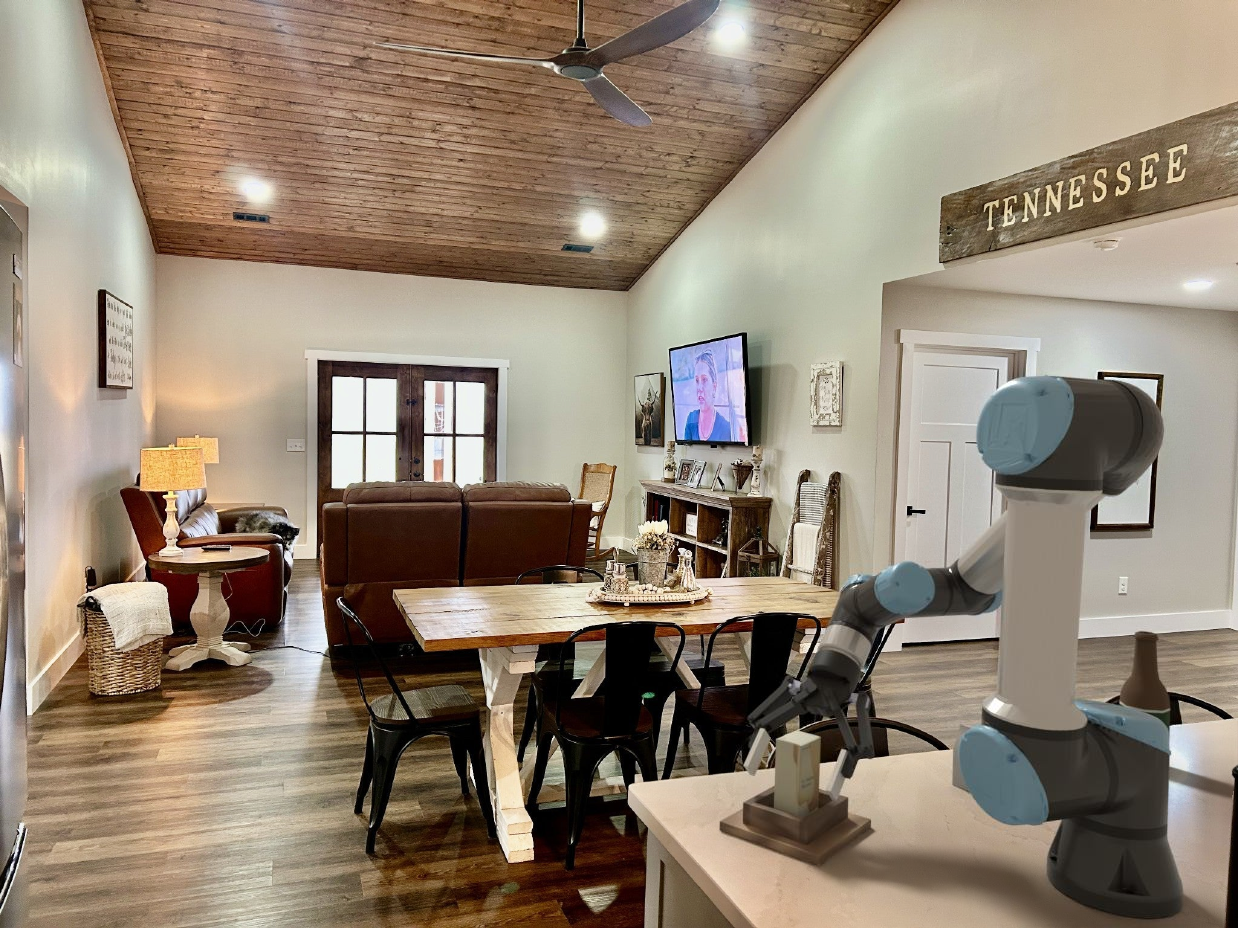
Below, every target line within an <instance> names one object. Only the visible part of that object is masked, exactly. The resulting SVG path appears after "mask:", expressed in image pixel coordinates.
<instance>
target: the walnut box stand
mask: <svg viewBox="0 0 1238 928" xmlns="http://www.w3.org/2000/svg"><path fill="white" fill-rule="evenodd" d="M774 787H775V785H773V786H771V787H769V788H768V789H766V790H764V791H762V792H760V793H758V794H757V795H754V796H753V797H751V798H749V799H747V800H745V801H743V802H742V808H741V809H740V810H738V811H736V812H734V813H732V814H730V815H728V816H726V817H724V818H723V819H721V820H720V821H719V830H721V831H723V832H726V833H729V834H731V835H734V836H737V837H740V838H741V839H746V840H748V841H750V842H754V843H757V845H758V844H760V845H762V846H763V847H767V848H770V849H772V850H775V851H778V852H781V853H783V854H787V855H789V856H791V857H795V858H797V859H800V860H803V861H805V862H808V863H811V864H815V865H817V866H820V865H821V864H823V863H824V862H826V861H827V860H829V859H830V858H831V857H833V856H834V855H835V854H837V853H838V852H839V851H840V850H842V849H843V848H845V847H846V846H847V845H849V844H851V842H853V841H854V840H856V839H857V838H858V837H860V836H861V835H863V834H864V833H865V832H867V831H868V830H869V829H871V828H872V818H868V817H864V816H861V815H858V814H855V813H852V812H849V796H844V795H841V794H839V797H838V799H837V801H835V800H832V799H831V797H830V796H829V794H828V793H827V791H826V789H823V788H819V805H818V810H816V811H815V812H813V813H812V814H810V815H809V816H807V817H805V818H801V817H798V816H795V815H792V814H789V813H786V812H782V811H779V810H776V809H774Z"/></svg>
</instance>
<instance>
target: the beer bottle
mask: <svg viewBox="0 0 1238 928" xmlns="http://www.w3.org/2000/svg"><path fill="white" fill-rule="evenodd" d="M1133 638H1134V639H1135V643H1134V644H1135V645H1134V654H1133V663H1132V665H1133V666H1132V670H1131V675H1130V676H1129V677H1128V678H1127V680H1125V682H1124V683H1123V686H1122V687H1121V689H1120V692H1119V693H1120V694H1119V704H1118V705H1119V706H1123V707H1127V708H1131V709H1135V710H1138V711H1141V712H1144V713H1147V714H1150V715H1152V716H1154V717H1156V718H1158V719H1160V720H1161V721H1162V722H1163V723H1164V724H1165V725H1166V727H1167V728H1168V731H1169V738H1170V737H1171V735H1170V734H1171V733H1170V729H1171V728H1170V727H1171V702H1170V695H1169V692H1168V690H1167V688H1166V687H1165V685H1164V684H1163V682H1162V681H1161V679H1160V675H1159V670H1158V669H1159V668H1158V652H1157V651H1158V649H1157V647H1158V646H1157V641H1159V636H1158V635H1157V633H1155V632H1152V631H1143V630H1139V631H1136V632H1134V634H1133Z"/></svg>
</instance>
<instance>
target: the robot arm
mask: <svg viewBox="0 0 1238 928" xmlns="http://www.w3.org/2000/svg"><path fill="white" fill-rule="evenodd" d="M1164 435H1165V427H1164V418H1163V415H1162V413H1161V411H1160V408H1159V407H1158V405H1157V404H1156V402H1155V401H1154V399H1153V398H1152V397H1151V396H1150V395H1149V393H1147V392H1145V391H1144V390H1142V389H1141V388H1139V387H1138V386H1136V385H1134V384H1131V383H1129V382H1126V381H1122V380H1116V379H1107V378H1106V379H1105V378H1104V379H1095V378H1094V379H1093V378H1081V377H1071V376H1057V375H1047V374H1044V375H1036V376H1035V375H1034V376H1021V377H1017V378H1014V379H1011V380H1009V381H1006V382H1004V383H1003V384H1002V385H1001V386H999V387H998V388H997V389H996V390H995V392H994V394H992V395H991V396H989V397H988V398H987V400H986V402H985V404H984V406H983V407H982V409H981V412H980V414H979V418H978V420H977V424H976V433H975V439H976V440H975V441H976V447H977V448H976V449H977V451H978V453H980V454H982V456H981V459H982V461H983V463H984V464H985V466H987V467H988V468H990V469H991V470H992V471H994V472H995V476H994V477H995V479H994V487H995V488H996V489H997V490H998V491H999V492H1000V494H1002V495H1003V496H1004V497H1005V500H1006V501H1007V503H1006V510H1005V511H1004V512H1003V513H1001V515H1000V516H999V517H998V518H997V519H996V520H995V521H994V522H993V523H992V524H991V525H990V526H989V527H988V528H987V529H986V530H985V531H984V532H983V533H982V534H981V535H980V536H979V538H977V539H976V540H975V541H974V542H973V544H972V545H970V546H969V547H968V548H967V549H966V550H965V552H963V554H962V555H960V557H958V559H956V560H955V561H954V562H953V563H952V564H951V565H950V566H947V567H929V568H926V567H924V566H923V565H921V564H918V563H916V562H914V561H909V560H906V561H905V560H904V561H900V562H897V563H896V564H892V565H889V566H887V567H886V568H884V569H883V570H882V571H880V572H879V573H878V574H876V575H872V574H868V573H863V574H859V573H856V574H854V575H852V576H850V577H849V578H848V579H847V581H846V583H845V585H844V587H843V588H842V590H841V591H840V593H839V597H838V600H837V603H836V605H835V607H834V610H833V611H832V614H831V617H830V618H829V619H830V620H829V622H828V624H827V626H826V628H825V631H824V633H823V634H822V635H823V636H822V638H821V639H820V641H819V644H818V646H817V649H816V650H817V651H816V652H815V653H814V656H813V658H812V661H811V663H810V665H809V666H808V667H809V668H808V671H807V675H806V677H805V679H804V680H802V681H799V680H796V679H794V678H793V676H792V675H789V674H788V675H786V676H785V677H784V679H783V680H782V682H781V685H780V686H778V688H777V689H776V690H774V691H773V693H771V694H770V695H769V696H768V697H767V698H765V700H764V701H763V702H762V703H761V704H759V705H758V706H757V707H756V708H755V709H754V710H753V711H752V712H751V713H749V714H748V716H747V721H748V722H749V724H750V725H751V727H752V728H753V729H754V731H753V733H752V735H751V737H750V739H749V742H748V746H747V747H748V748H749V752H748V754H747V757H746V759H745V761H744V763H743V765H742V766H743V767H744V768H745V770H746V771H747V773H748V774H749V776H752V777H755V775H756V774H757V771H758V769H759V766H760V765H761V761H762V760H763V757H764V755H765V753H766V750H767V749H768V746H769V744H770V741H771V740H772V739H771V737H770V735H769V734H771V733H772V732H774V731H775V730H777V729H778V728H780V727H782V726H784V725H786V724H787V723H789V722H790V721H792V720H794V719H795V718H797V717H798V716H800V715H802V716H803V715H806V714H807V713H810V714H813V715H821V716H823V717H824V718H830V717H833V716H834V718H835V720H836V724H837V725H838V728H839V730H840V733H841V735H842V737H843V740H844V742H845V745H846V748H847V749H848V750H847V749H844V748H841V749H840V752H839V755H838V757H837V761H836V763H835V765H834V767H833V770H832V773H831V776H830V778H829V782H828V784H827V786H826V789H825V791H827V793H828V794H829V796H830V797H831V799H832V800H835V801H837V799H838V797H839V795H841V794H840V793H841V791H842V789H843V786H844V783H845V780H846V779H849V780H851V779H852V777H853V776H854V774H855V773H854V772H855V769H856V767H857V765H858V762H859V760H861V759H864V758H866V759H868V760H873V759H874V758H875V750H874V749H875V748H874V742H873V734H872V727H871V721H870V720H871V719H870V714H869V712H870V710H871V705H872V701H871V698H870V697H869V695H868V693H867V692H866V691H865V690H860V691H859V692H858V693H854V692H855V690H856V687H857V686H858V683H859V680H860V677H861V675H862V670H863V669H864V667H865V665H866V661H867V659H868V657H869V654H870V652H871V649H872V647H873V644H874V641H875V639H876V637H877V634H878V633H879V631H880V629H883V628H884V627H887V626H890V625H891V624H893V623H896V622H898V621H900V620H903V619H916V618H933V617H935V618H936V617H948V616H949V617H950V616H951V617H952V616H953V617H955V616H980V615H983V614H990V613H993V612H995V611H997V610H998V609H999V608H1001V609H1000V622H999V625H1000V626H999V638H998V639H999V642H998V659H997V660H998V661H997V676H996V690H995V691H994V692H992V693H991V694H990V695H988V696H987V697H985V698H984V699H983V701H982V705H981V722H980V724H979V725H974V726H971V727H972V728H971V729H969V730H967V732H966V734H964V735H963V736H962V738H961V740H960V743H959V750H958V757H959V765H960V770H961V773H962V777H963V779H964V782H965V784H966V786H967V788H968V789H969V791H968V792H969V793H970V794H971V796H972V798H973V800H974V801H975V803H976V804H977V805H978V806H979V807H980V809H982V810H983V812H984V813H986V814H987V815H988V816H989V817H990V818H992V819H993V820H995V821H997V822H998V823H1001V824H1004V825H1007V826H1014V827H1015V826H1023V825H1024V826H1026V825H1028V826H1032V827H1033V826H1041V825H1043V824H1044V823H1049V822H1055V821H1060V823H1059V826H1058V828H1057V830H1056V833H1055V835H1054V836H1053V837H1054V838H1053V840H1052V842H1051V845H1050V848H1049V850H1048V852H1047V856H1046V877H1047V879H1048V881H1049V882H1050V883H1051V884H1052V885H1053V886H1054V887H1055V888H1056V890H1057V889H1058V890H1059V891H1060V892H1061V893H1063V894H1065V895H1066V896H1068V897H1069V898H1072V900H1076V901H1078V902H1080V903H1081V904H1084V905H1087V906H1089V907H1091V908H1094V909H1096V910H1097V909H1098V910H1101V911H1104V912H1107V913H1113V914H1116V915H1120V916H1126V917H1132V918H1133V917H1134V918H1143V919H1158V918H1165V917H1171V916H1173V915H1175V914H1177V913H1179V912H1180V911H1181V910H1182V908H1183V903H1184V885H1183V882H1182V879H1181V877H1180V874H1179V871H1178V866H1177V864H1176V861H1175V857H1174V855H1173V854H1174V853H1173V852H1172V848H1171V846H1170V842H1169V840H1168V825H1169V824H1168V823H1169V794H1170V793H1169V792H1170V791H1169V789H1170V762H1171V761H1170V757H1171V756H1172V751H1171V749H1170V737H1169V731H1168V728H1167V727H1166V725H1165V724H1164V723H1163V722H1162V721H1161V720H1160V719H1158V718H1156V717H1154V716H1152V715H1150V714H1147V713H1144V712H1141V711H1138V710H1135V709H1131V708H1127V707H1123V706H1119V704H1114V703H1109V702H1104V701H1099V700H1091V699H1080V698H1079V699H1077V698H1076V699H1075V694H1076V680H1077V679H1076V677H1077V676H1076V675H1077V664H1078V649H1079V648H1078V646H1079V645H1078V644H1079V634H1080V633H1079V630H1080V613H1081V597H1082V583H1083V571H1084V570H1083V569H1084V568H1083V567H1084V555H1085V540H1086V539H1085V538H1086V537H1085V536H1086V523H1087V520H1086V519H1087V513H1089V512H1090V511H1091V510H1093V508H1095V506H1096V505H1098V504H1099V503H1100V502H1101V501H1102V500H1103V499H1104V498H1106V497H1109V498H1110V497H1118V496H1120V495H1122V494H1123V493H1124V492H1125V491H1126V490H1127V489H1129V488H1130V487H1131V486H1132V485H1133V484H1135V483H1136V482H1137V481H1138V480H1139V479H1140V478H1141V477H1142V476H1143V475H1144V474H1145V472H1147V470H1148V469H1149V468H1150V467H1151V465H1153V463H1154V461H1155V460H1156V459H1157V457H1158V454H1159V453H1160V450H1161V447H1162V445H1163V441H1164ZM798 692H799V693H798ZM801 703H803V704H801ZM851 704H852V705H854V708H855V711H856V718H857V725H858V734H859V740H860V744H859V745H858V744H857V742H856V740H855V737H854V735H853V732H852V730H851V727H850V725H849V723H848V720H847V717H846V714H845V712H844V709H845V708H846V707H848V706H849V705H851Z"/></svg>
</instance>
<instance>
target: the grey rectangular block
mask: <svg viewBox="0 0 1238 928" xmlns="http://www.w3.org/2000/svg"><path fill="white" fill-rule="evenodd" d="M972 727H973V726H969V725H967V724H963V723H960V724H959V730H958V732H957V737H956V740H955V742H954V746H953V750H952V781H951V782H952V784H951V785H952V786H954V787H957V788H959V789H961V790H965V791H968V792H970V791H969V789H968V788H967V786H966V784H965V782H964V779H963V777H962V773H961V770H960V765H959V757H958V750H959V743H960V740H961V738H962V736H963V735H964V734H966V732H967V730H969V729H971V728H972Z"/></svg>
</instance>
